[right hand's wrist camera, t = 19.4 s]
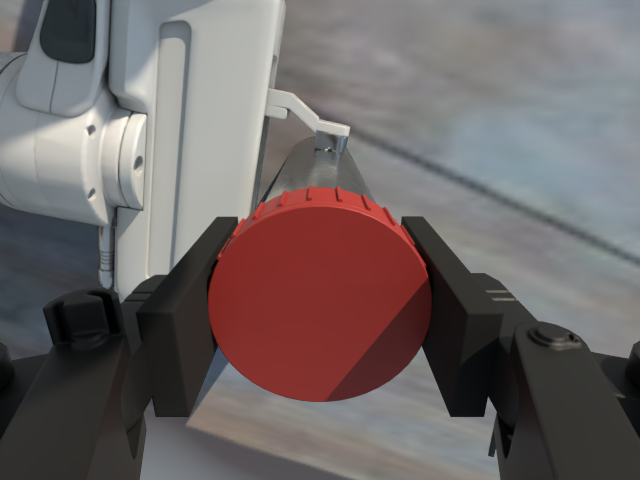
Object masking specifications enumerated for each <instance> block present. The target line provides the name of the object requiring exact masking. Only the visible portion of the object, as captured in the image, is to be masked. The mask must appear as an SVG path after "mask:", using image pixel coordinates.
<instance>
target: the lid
mask: <svg viewBox="0 0 640 480" xmlns="http://www.w3.org/2000/svg"><path fill="white" fill-rule="evenodd" d="M231 237H232V239H231V238H229V239H228V241H227V242H226V244H225V246H224V247H223V249H222V250H221V252H220V254H219V255H218V257H217V260H219V261H218V263H217V265H216V267H215V269H214V271H213V274H212V277H211V280H210V285H209V290H208V311H209V319H210V326H211V329H212V333H213V335H214V337H215V340H216V342H217V344H218V346H219V348H220V349H221V351H222V353H223V354H224V356H225V357H226V358H227V359H228V361H229V362H230V363H231V364H232V366H234V367H235V368H236V369H237V370H238V371H239V372H240V373H241V374H242V375H243V376H245V377H246V378H247V379H249V380H250V381H251V382H253V383H255V384H256V385H258V386H260V387H261V388H263V389H265V390H268V391H270V392H272V393H274V394H277V395H280V396H284V397H287V398H291V399H296V400H301V401H311V402H329V401H339V400H344V399H349V398H353V397H356V396H359V395H362V394H366V393H368V392H370V391H372V390H374V389H377V388H379V387H380V386H382V385H384V384H385V383H387V382H389V381H390V380H391V379H393V378H394V377H395V376H396V375H398V374H399V373H400V372H401V371H402V370H403V369H404V368H405V367H406V366H407V365H408V364H409V363H410V362H411V360H412V359H413V358H414V357H415V355H416V354H417V352H418V351H419V349H420V347H421V346H422V344H423V342H424V340H425V337H426V335H427V332H428V329H429V325H430V317H431V308H432V290H431V285H430V280H429V277H428V275H427V272H426V269H425V268H427V267H426V264H425V263H424V261H423V259H422V258H421V256H420V255H419V253H418V252H417V250H416V248H415V247H414V246H413V245H415V243H414V242H413V240H412V239H411V237H410V235H409V234H408V232H407V231H406V229H405V228H404V226H403V225H401V226H399V224H398V223H397V222H396V220H395V219H394V218H393V217H392V216H391V214H390V212H389V211H388V209H387V208H386V207H384V208H381V207H380V206H379V205H377V204H376V203H374V202H372V201H371V200H369V199H367V197H366V195H365V194H362V195H361V196H360V195H358V194H355V193H353V192H349V191H345V190H341V189H340V187H338V186H336V189H335V188H327V187H313V185H309V188H305V189H298V190H295V191H291V192H287V190H286V191H283V193H282V195H279V196H277V197H275V198H273V199H271V200H269V201H268V202H266V203H263V202H261V203H260V204H259V206H258V207H257V209H256V210H255V211H253V212H252V213H251V214H250V215H249V216H248V217H247V218H246V219H244V218H243V219H242V220H241V221H240V223H239V224H238V226H237V227H236V229H235V231H234V232H233V234H232V235H231Z"/></svg>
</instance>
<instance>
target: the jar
mask: <svg viewBox="0 0 640 480" xmlns="http://www.w3.org/2000/svg"><path fill="white" fill-rule="evenodd" d="M315 137H316V136H315ZM315 137H310V138H307V139H305V140H303V141H302V142H300V143H299V144H297V145H296V146H295V147H294V148H293V150H292V151H291V153H290V154H289V156H288V158H287V160H286V162H285V164H284V166H283V168H282V170H281V172H280V174H279V175H278V177H277V179H276V181H275V183H274V185H273V187H272V189H271V191H270V193H269V195H268V197H267V199H266V201H265V202H264V203H266V202H268V201H269V200H271V199H273V198H275V197H277V196H279V195H282V193H283V191H286V190H287V192H291V191H295V190H298V189H305V188H309V185H313V187H327V188H335V189H336V186H338V187H340V189H341V190H345V191H349V192H353V193H355V194H358V195H360V196H361V195H362V194H365V195H366V197H367V199H369V200H371V201H372V202H374V203H375V201H374V199H373V197H372V195H371V193H370V191H369V189H368V187H367V185H366V183H365V181H364V179H363V178H362V176H361V174H360V172H359V170H358V168H357V166H356V164H355V162H354V160H353V158H352V156H351V155H350V153H349V151H348V150H347V149H346V148H345V152H344V154H341V153H336V152H333V151H332V150H331V149H327V150H321V149H316V148H314V143H315Z"/></svg>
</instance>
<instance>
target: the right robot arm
mask: <svg viewBox="0 0 640 480" xmlns="http://www.w3.org/2000/svg"><path fill="white" fill-rule="evenodd" d="M401 225H403V226H404V228H405V229H406V231H407V232H408V234H409V235H410V237H411V239H412V240H413V242H414V243H415V245H413V246H414V247H415V248H416V250H417V252H418V253H419V255H420V256H421V258H422V259H423V261H424V263H425V264H426V267H427V268H425V269H426V272H427V275H428V277H429V280H430V285H431V290H432V308H431V317H430V325H429V329H428V332H427V335H426V337H425V340H424V342H423V344H422V348H423V350H424V353H425V355H426V358H427V360H428V363H429V365H430V367H431V370H432V372H433V375H434V377H435V380H436V382H437V385H438V387H439V390H440V392H441V395H442V397H443V399H444V402H445V404H446V407H447V409H448V412H449V414H450V417H484V414H485V409H486V404H487V399H488V397H489V398H490V400H491V402H492V404H493V406H494V407H495V409H496V411H497V414H496V419H495V423H494V428H493V433H492V438H491V443H490V447H489V454H488V456H491V457H494V453H495V449H496V450H497V457H498V464H499V472H500V479H501V480H640V341H639V342H637V343H635V344H634V345H633V348H632V351H631V353H630V356H629V359H627V358H621V357H616V356H610V355H605V354H599V353H594V352H591V351H590V349H589V348H588V346H587V344H586V343H585V342H584V341H583V340H582V339H581V338H580V337H579V336H578V335H576V334H574V333H573V332H571V331H570V330H568V329H565V328H563V327H560V326H558V325H555V324H550V323H546V322H540V321H537V320H536V319H535V318H534V317H533V316H532V314H531V313H530V312H529V311H528V310H527V309H526V308H525V307H524V306H523V305H522V304H521V303H520V302H519V301H516V298H515V297H514V296H513V295H512V294H511V293H509V292H508V290H507V289H506V288H505V287H504V286H503V284H502V283H501V282H500V281H498V280H496V279H494V278H492V277H491V276H489V275H487V274H485V273H470V272H469V270H468V269H467V268H466V267H465V266H464V265H463V263H462V262H461V261H460V260H459V259H458V257H457V256H456V255H455V254H454V253H453V252H452V250H451V249H450V248H449V247H448V246H447V244H446V243H445V242H444V241H443V240H442V239H441V237H440V236H439V235H438V234H437V233H436V232H435V230H434V229H433V228H432V227H431V226H430V224H429V223H428V222H427V221H426V220H425V219H424V217H402V221H401ZM237 226H238V217H216V218H215V219H214V221H213V222H212V223H211V224H210V225H209V227H208V228H207V229H206V230H205V231H204V232H203V234H202V235H201V236H200V237H199V238H198V239H197V241H196V242H195V243H194V244H193V245H192V247H191V248H190V249H189V250H188V251H187V252H186V254H185V255H184V256H183V257H182V258H181V259H180V261H179V262H178V263H177V264H176V265H175V267H174V268H173V269H172V270H171V271H170V272H169V274H168V275H154V276H152V277H150V278H148V279H146V280H144V281H143V282H141V283H140V284H139V285H138V286H137V287H136V288H135V289H134V290H133V291H132V293H131V294H129V295H128V296H127V297H126V298H125V299H124V302H122V303H121V304H120V299H119V295H118V293H117V292H116V291H114V290H112V289H106V288H90V289H84V290H79V291H75V292H72V293H69V294H66V295H63V296H61V297H59V298H57V299H55V300H53V301H51V302H50V303H49V304H47V305H46V306H45V307H44V308H43V312H44V315H45V318H46V322H47V325H48V329H49V332H50V336H51V339H52V342H53V347H52V348H51V350H50V352H49V354H45V355H39V356H34V357H29V358H23V359H18V360H11V357H10V354H9V352H8V349H7V346H5V345H4V344H2V343H0V480H140V473H141V465H142V458H143V451H144V444H145V436H146V424H145V419H144V414H143V413H144V411H145V409H146V407H147V405H148V404H149V402H150V400H151V398H152V400H153V405H154V410H155V415H156V417H189V416H190V414H191V411H192V409H193V406H194V404H195V401H196V399H197V396H198V394H199V391H200V389H201V387H202V384H203V382H204V379H205V377H206V374H207V372H208V369H209V367H210V364H211V362H212V359H213V357H214V355H215V352H216V350H217V347H218V344H217V342H216V340H215V337H214V335H213V333H212V329H211V326H210V319H209V311H208V290H209V285H210V280H211V277H212V274H213V271H214V269H215V267H216V265H217V263H218V261H219V260H217V257H218V255H219V254H220V252H221V250H222V249H223V247H224V246H225V244H226V242H227V241H228V239H229V238H231V239H232V237H231V235H232V234H233V232H234V231H235V229H236V227H237Z"/></svg>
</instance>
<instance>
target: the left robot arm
mask: <svg viewBox="0 0 640 480" xmlns="http://www.w3.org/2000/svg"><path fill="white" fill-rule="evenodd" d="M285 12H286V6H285V1H284V0H44V1H43V5H42V9H41V12H40V16H39V19H38V23H37V26H36V29H35V32H34V35H33V38H32V41H31V44H30V47H29V50H28V52H3V51H0V203H2V204H4V205H6V206H8V207H11V208H13V209H17V210H20V211H24V212H29V213H34V214H40V215H45V216H50V217H56V218H61V219H66V220H73V221H78V222H83V223H88V224H94V225H98V226H97V229H98V251H99V260H100V261H99V267H98V281H99V285H100V286H101V287H103V288H106V289H112V287H113V286H114V291H116V292H117V293H118V295H119V299H120V304H121V303H122V302H124V299H125V298H126V297H127V296H128V295H129V294H131V293H132V291H133V290H134V289H135V288H136V287H137V286H138V285H139V284H140V283H141V282H143V281H144V280H146V279H148V278H150V277H152V276H154V275H168V274H169V272H170V271H171V270H172V269H173V268H174V267H175V265H176V264H177V263H178V262H179V261H180V259H181V258H182V257H183V256H184V255H185V254H186V252H187V251H188V250H189V249H190V248H191V247H192V245H193V244H194V243H195V242H196V241H197V239H198V238H199V237H200V236H201V235H202V234H203V232H204V231H205V230H206V229H207V228H208V227H209V225H210V224H211V223H212V222H213V221H214V219H215V218H216V217H238V224H239V223H240V221H241V220H242V219H243V218H244V219H246V218H247V217H248V216H249V215H250V214H251V213H252V212H253V211H255V210H256V204H257V197H258V191H259V184H260V177H261V171H262V164H263V158H264V151H265V144H266V138H267V131H268V125H269V118H270V117H274V118H279V119H285V118H287V117H288V116H289V114H290V111H292V112H293V113H294V114H295V115H296V116H297V117H298V118H299V119H301V120H302V121H303V122H304V123H305V124H306V125H307V126H308V127H309V128H311V129H312V130H313V131H314V132H315V133H316V137H315V143H314V148H316V149H321V150H327V149H331V150H332V151H333V152H336V153H341V154H344V152H345V148H346V144H347V140H348V135H349V131H350V127H349V126H346V125H343V124H338V123H334V122H329V121H324V120H320V119H319V117H318V116H317V115H316V114H315V113H314V112H313V111H312V110H311V109H310V108H309V107H308V106H306V105H305V104H304V103H303V102H302V101H301V100H300V99H299V98H298V97H297V96H296V95H295V94H293V93H289V92H285V91H280V90H276V89H274V85H275V78H276V72H277V65H278V59H279V52H280V45H281V39H282V32H283V25H284V19H285ZM112 290H113V289H112Z"/></svg>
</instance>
